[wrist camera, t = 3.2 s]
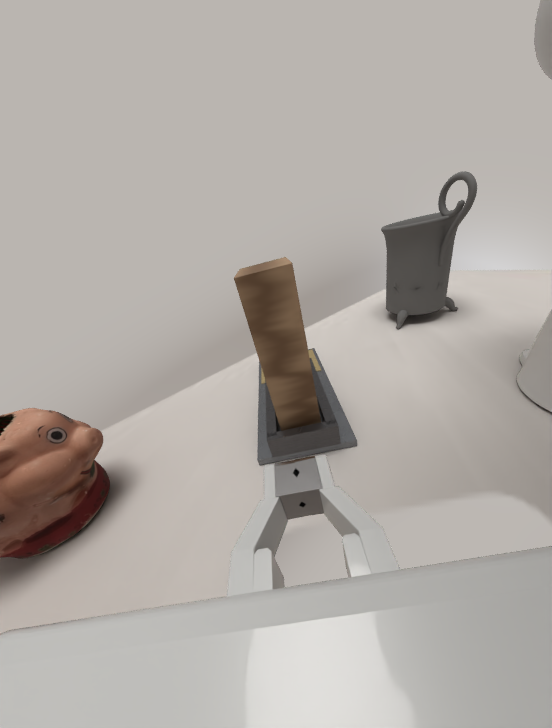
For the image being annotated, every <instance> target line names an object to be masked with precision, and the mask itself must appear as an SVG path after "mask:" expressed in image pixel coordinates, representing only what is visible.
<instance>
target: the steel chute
mask: <svg viewBox="0 0 552 728" xmlns="http://www.w3.org/2000/svg"><path fill="white" fill-rule="evenodd" d="M308 353H309V358H310V364H311V369H312V375H313V380H314V386H315V391H316V397H317V402H318V407H319V413H320V418H321V423H316V424H311V425H307V426H302V427H297V428H292V429H288V430H283V431H281V429H280V425H279V422H278V419H277V416H276V412H275V409H274V406H273V403H272V399H271V396H270V393H269V390H268V387H267V383H266V380H265V377H264V374H263V370H262V367H261V364H260V361H259V408H258V462H259V465H264V464H268V463H273V462H278V461H283V460H288V459H293V458H298V457H303V456H308V455H313V454H318V453H323V452H328V451H333V450H338V449H343V448H348V447H353V446H357V440H356V437H355V435H354V433H353V431H352V429H351V427H350V424H349V422H348V420H347V418H346V416H345V414H344V412H343V409H342V407H341V405H340V403H339V401H338V399H337V396H336V394H335V392H334V390H333V388H332V386H331V384H330V381H329V379H328V377H327V375H326V373H325V371H324V368H323V366H322V364H321V362H320V360H319V358H318V356H317V353H316V351H315V349H314V348H313V349H308Z"/></svg>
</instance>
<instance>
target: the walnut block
mask: <svg viewBox="0 0 552 728" xmlns="http://www.w3.org/2000/svg"><path fill="white" fill-rule="evenodd" d="M234 280H235V283H236V286H237V290H238V293H239V296H240V299H241V302H242V306H243V309H244V312H245V315H246V318H247V321H248V325H249V328H250V331H251V335H252V338H253V341H254V345H255V348H256V351H257V354H258V357H259V361H260V364H261V367H262V370H263V374H264V377H265V380H266V383H267V387H268V390H269V393H270V396H271V399H272V403H273V406H274V409H275V412H276V416H277V419H278V422H279V425H280V429H281V431H283V430H288V429H292V428H297V427H302V426H307V425H311V424H316V423H321V418H320V413H319V407H318V402H317V397H316V391H315V386H314V380H313V375H312V369H311V364H310V358H309V353H308V347H307V342H306V336H305V331H304V325H303V320H302V315H301V309H300V304H299V298H298V292H297V287H296V281H295V276H294V270H293V265H292V262H290V261H289V260H288V259H287V258H286V257H284V258H280V259H276V260H273V261H269V262H265V263H261V264H257V265H254V266H249V267H246V268H242V269H240V270H239V271H238V273H237V274H236V276H235V277H234Z"/></svg>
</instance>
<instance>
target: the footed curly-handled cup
mask: <svg viewBox="0 0 552 728" xmlns="http://www.w3.org/2000/svg"><path fill="white" fill-rule="evenodd" d="M457 180H464V181H465V182H466V183H467V185H468V198H467V201H466V203H465V202H464V201H463V200H461V201H459V202H458V204H457V206H456V208H455V209H454V210H451V211H448V210H447V208H446V204H445V200H446V194H447V192H448V190H449V188H450V186H451V185H452V184H453V183H454V182H455V181H457ZM476 193H477V183H476V180H475V178H474V176H473V175H472V174H471V173H469V172H459V173H457V174H455V175H453V176H452V177H451V178H450V179H449V180H448V181H447V182H446V184H445V185H444V186H443V188H442V190H441V193H440V196H439V211H440V213H435V214H430V215H425V216H420V217H416V218H412V219H408V220H404V221H400V222H396V223H392V224H389V225H386V226H384V227H382V229H381V230H382V232H383V234H384V235H385V240H386V247H387V283H386V284H387V286H386V309H387V310H388V311H389V312H391V313H394V314H398V315H397V326H396V328H397V329H400V328H401V326H402V324H403V322H404V321H405V319H406V318H407V316H408V315H421V314H428V313H432V312H435V311H438V310H440V309H442V308H443V307H444V306H446V307H448V308H449V309H450V310H451V311H457V310H458V308H457V307H455V306H454V302H453V300H452V299H451V298H449V297H446V294H447V287H448V280H449V273H450V266H451V258H452V252H453V245H454V239H455V235H456V231H457V227H458V225H459V224H460V223H461V221H462V220H463V219H464V217H465V216H466V214H467V213H468V212H469V210H470V208H471V207H472V205H473V202H474V200H475V197H476ZM464 204H465V205H464ZM463 206H464V207H463ZM462 208H463V209H462Z"/></svg>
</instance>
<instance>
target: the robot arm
mask: <svg viewBox="0 0 552 728" xmlns="http://www.w3.org/2000/svg"><path fill="white" fill-rule="evenodd" d="M534 42H535V43H534V44H535V51H536V57H537V60H538V62H539V65H540V67H541V68H542V70H543V71H544V73H545V74H546V75H547V76H548V77H549V78H550V79H552V0H541V1H540V5H539V9H538V13H537V18H536V24H535V38H534ZM519 359H520V362H521V364H522V368H521V370H520V372H519V373H518V375H517V383H518V385H519V387H520V389H521V390H522V391H523V392H524V393H525V395H527V396H528V397H529V398H530V399H531V400H533V401H534V402H535V403H537V404H538V405H540V406H542V407H543V408H545V409H547V410H549V411H550V412H552V310H551V311H550V313H549V315H548V317H547V319H546V320H545V322H544V324H543V326H542V328H541V330H540V332H539V334H538V336H537V338H536V339H535V341H534V343H533V345H532V347H531V349H527V350H524V351H523V352H522V353H521V355H520V357H519ZM322 513H324V514H325V516H326V517H327V518H328V519H329V521H330V522H331V523H332V524H333V526H334V527H335V528H336V529H337V530H338V532H339V533H340V534H341V536H342V537H343V539H342V542H343V549H344V556H345V563H346V569H347V573H348V577H349V578H343V579H336V580H330V581H324V582H317V583H310V584H304V585H298V586H291V587H284V577H283V575H282V573H281V571H280V568H279V566H278V564H277V562H276V560H275V558H274V557H275V554H276V551H277V548H278V546H279V543H280V541H281V538H282V535H283V533H284V530H285V527H286V524H287V522H288V519H293V518H298V517H302V516H308V515H315V514H322ZM0 728H552V546H549V547H543V548H537V549H530V550H524V551H517V552H510V553H504V554H497V555H491V556H485V557H478V558H472V559H465V560H459V561H452V562H446V563H439V564H434V565H427V566H420V567H414V568H407V569H401V570H400V567H399V565H398V563H397V560H396V558H395V556H394V553H393V551H392V548H391V546H390V543H389V541H388V539H387V536H386V534H385V531H384V529H383V527H382V526H380V525H379V524H378V523H377V522H376V521H375V520H374V519H373V518H372V517H371V516H370V515H369V514H368V513H367V512H366V511H365V510H363V509H362V508H361V507H360V506H359V505H358V504H357V503H356V502H355V501H354V500H353V499H352V498H351V497H350V496H349V495H347V494H346V493H345V492H344V491H343V490H342V489H341V488H340V487H339V486H336V487H335V484H334V480H333V477H332V474H331V470H330V467H329V463H328V460H327V457H326V455H325V454H323V455H318V456H311V457H306V458H301V459H296V460H293V461H287V462H281V463H275V464H269V465H264V499H263V500H260V502H259V504H258V506H257V508H256V509H255V511H254V513H253V515H252V517H251V518H250V520H249V522H248V524H247V525H246V527H245V529H244V531H243V533H242V534H241V536H240V538H239V540H238V542H237V543H236V545H235V547H234V549H233V550H232V552H231V561H230V570H229V580H228V589H227V596H226V597H220V598H214V599H207V600H201V601H194V602H188V603H181V604H175V605H169V606H162V607H156V608H149V609H143V610H136V611H130V612H123V613H117V614H111V615H104V616H98V617H91V618H85V619H78V620H72V621H66V622H59V623H53V624H47V625H40V626H34V627H27V628H20V629H14V630H9V631H6V632H4V633H2V634H0Z"/></svg>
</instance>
